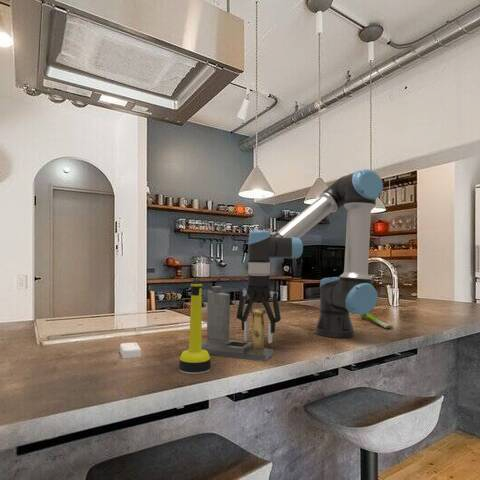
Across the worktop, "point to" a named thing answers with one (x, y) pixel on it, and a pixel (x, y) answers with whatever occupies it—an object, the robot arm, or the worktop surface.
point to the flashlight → (195, 337)
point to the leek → (376, 321)
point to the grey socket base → (236, 349)
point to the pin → (258, 327)
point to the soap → (130, 350)
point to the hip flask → (218, 314)
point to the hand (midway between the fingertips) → (258, 341)
